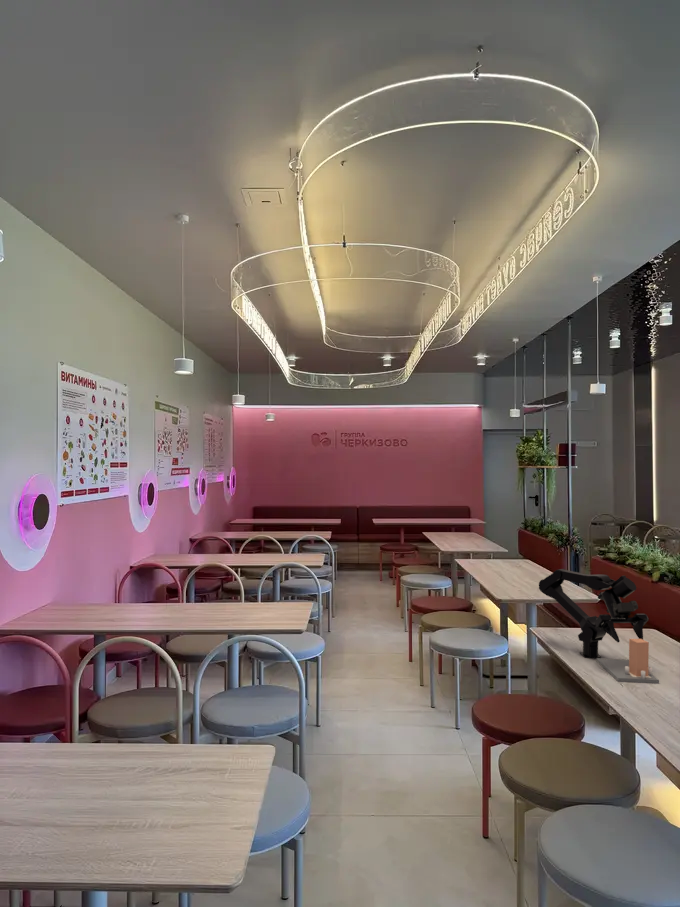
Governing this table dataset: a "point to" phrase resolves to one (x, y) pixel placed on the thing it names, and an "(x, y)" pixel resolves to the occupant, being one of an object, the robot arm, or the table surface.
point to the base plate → (625, 671)
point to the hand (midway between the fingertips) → (630, 641)
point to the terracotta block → (638, 656)
